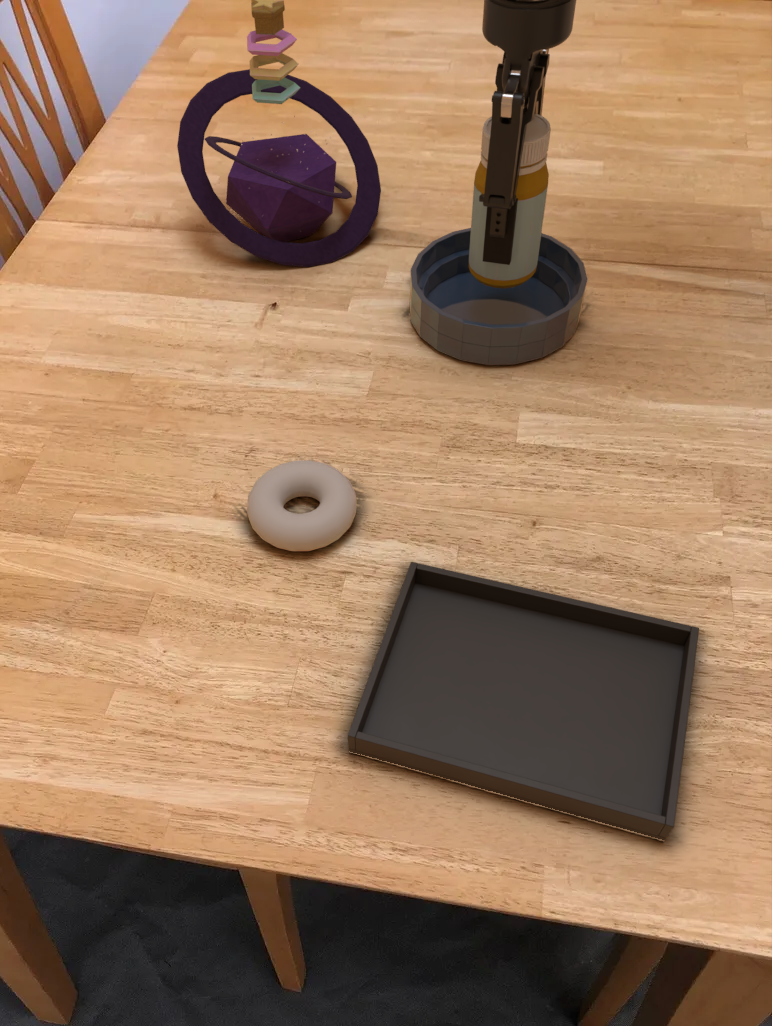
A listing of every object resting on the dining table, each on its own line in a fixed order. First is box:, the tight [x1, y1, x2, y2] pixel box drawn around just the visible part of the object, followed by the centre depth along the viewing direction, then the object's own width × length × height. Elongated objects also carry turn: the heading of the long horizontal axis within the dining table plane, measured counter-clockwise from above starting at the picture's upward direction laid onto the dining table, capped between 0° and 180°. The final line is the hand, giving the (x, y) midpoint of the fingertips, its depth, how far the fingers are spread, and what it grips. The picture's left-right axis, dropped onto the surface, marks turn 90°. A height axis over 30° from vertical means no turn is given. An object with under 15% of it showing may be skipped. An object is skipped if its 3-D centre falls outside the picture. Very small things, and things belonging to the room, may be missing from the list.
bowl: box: [409, 227, 589, 366], centre depth 99 cm, size 18×18×5 cm
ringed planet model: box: [176, 0, 382, 268], centre depth 103 cm, size 22×21×25 cm
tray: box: [347, 561, 700, 841], centre depth 71 cm, size 23×17×3 cm
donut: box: [246, 459, 358, 552], centre depth 83 cm, size 10×3×10 cm
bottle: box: [469, 114, 552, 288], centre depth 91 cm, size 7×7×15 cm
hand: (505, 239), depth 94 cm, fingers closed on bottle, 7 cm apart
